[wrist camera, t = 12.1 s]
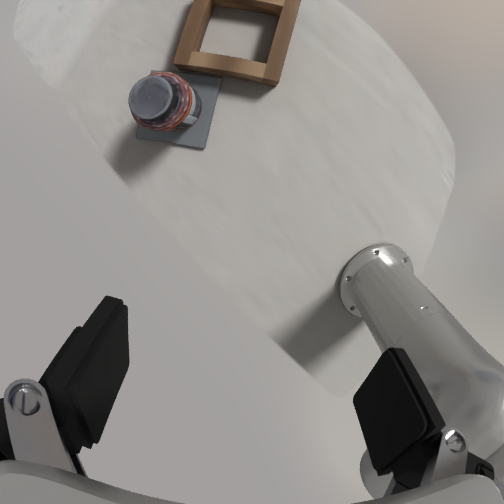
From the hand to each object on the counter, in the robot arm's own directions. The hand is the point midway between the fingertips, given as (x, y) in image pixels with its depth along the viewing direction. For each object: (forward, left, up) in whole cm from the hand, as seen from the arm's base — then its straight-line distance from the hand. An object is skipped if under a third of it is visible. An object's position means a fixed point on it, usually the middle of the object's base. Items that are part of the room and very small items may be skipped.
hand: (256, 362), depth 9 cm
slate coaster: (+11, -9, -28) cm, 31 cm away
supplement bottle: (+11, -9, -28) cm, 31 cm away
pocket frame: (+6, -20, -28) cm, 35 cm away
